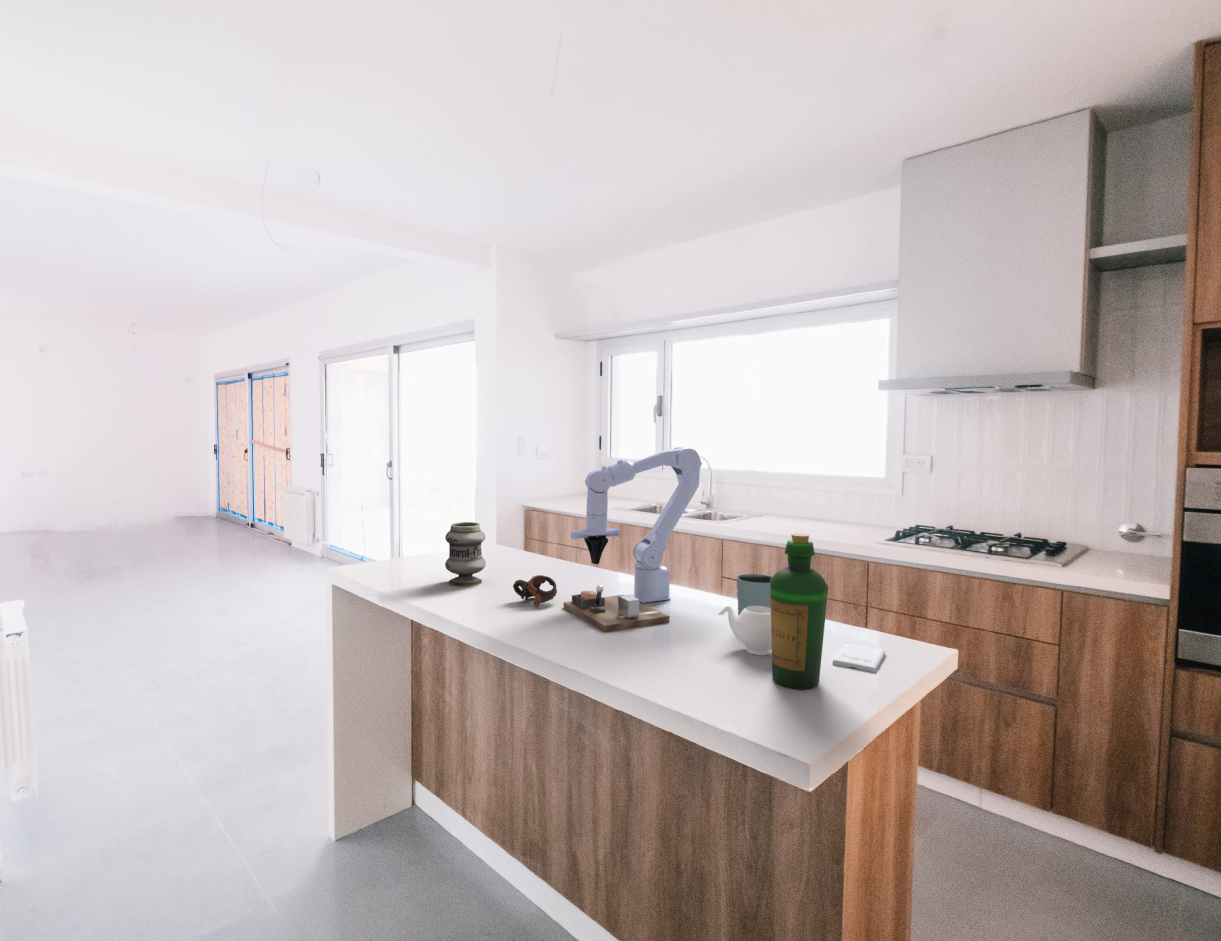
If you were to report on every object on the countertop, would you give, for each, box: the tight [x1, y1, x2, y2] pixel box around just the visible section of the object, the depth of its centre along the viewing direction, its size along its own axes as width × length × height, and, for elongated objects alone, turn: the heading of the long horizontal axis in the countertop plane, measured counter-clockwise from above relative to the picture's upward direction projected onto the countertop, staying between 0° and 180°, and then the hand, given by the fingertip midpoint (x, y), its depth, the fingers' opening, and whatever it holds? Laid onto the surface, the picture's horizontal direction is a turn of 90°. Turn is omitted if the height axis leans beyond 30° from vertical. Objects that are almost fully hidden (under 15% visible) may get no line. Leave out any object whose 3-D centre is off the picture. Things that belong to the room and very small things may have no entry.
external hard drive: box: [832, 643, 886, 673], centre depth 136 cm, size 2×8×12 cm
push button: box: [580, 590, 597, 600], centre depth 170 cm, size 4×4×2 cm
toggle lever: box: [593, 585, 604, 607], centre depth 163 cm, size 2×2×6 cm
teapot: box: [718, 605, 772, 656], centre depth 140 cm, size 10×20×9 cm, turn 49°
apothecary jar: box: [444, 521, 487, 587], centre depth 198 cm, size 12×12×18 cm
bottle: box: [770, 533, 829, 690], centre depth 123 cm, size 11×11×28 cm
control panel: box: [563, 593, 670, 633], centre depth 166 cm, size 18×23×4 cm
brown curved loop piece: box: [512, 574, 558, 607], centre depth 177 cm, size 12×10×8 cm
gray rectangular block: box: [618, 594, 640, 618], centre depth 160 cm, size 3×5×4 cm, turn 29°
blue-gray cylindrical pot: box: [736, 573, 773, 617], centre depth 157 cm, size 10×10×12 cm
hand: (595, 563), depth 179 cm, fingers closed
